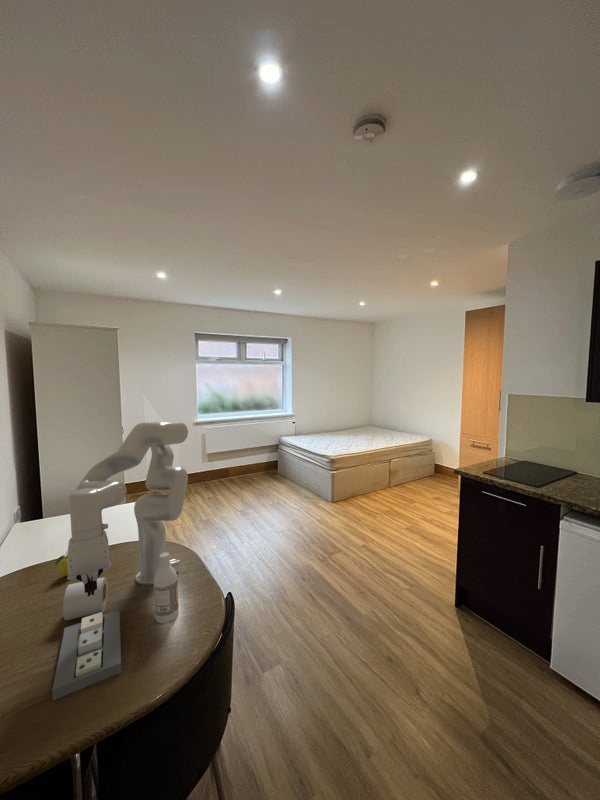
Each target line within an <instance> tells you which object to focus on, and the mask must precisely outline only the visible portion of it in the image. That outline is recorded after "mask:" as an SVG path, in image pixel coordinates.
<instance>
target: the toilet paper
mask: <svg viewBox="0 0 600 800" xmlns="http://www.w3.org/2000/svg"><path fill="white" fill-rule="evenodd" d="M108 592H109V591H108V580H107V577H106V576H104V577H98V578H97V590H95V592H94V595H90V596H88V593H85V588H84V584H83V582H81V581H79V582H75V583H70V584H68V585H67V587H66V589H65V593H64V597H63V604H62V605H63V606H62V614H63V619H64V620H65V621H66V622H67V621H70V620H74V619H79V618H84V617H88V616H91V615H94V614H97V613H100V612H105V611H106V607H107V601H108Z"/></svg>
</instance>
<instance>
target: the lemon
mask: <svg viewBox="0 0 600 800" xmlns="http://www.w3.org/2000/svg"><path fill="white" fill-rule="evenodd" d="M66 555H68V552H66V553H65V554H63V555H61V556H59V557H58V558H57V560H56V561H55V566H57V565H58V564H59V566H58V571H59V572H58V573H59V575H60V576H62V577H68V556H66ZM65 556H66V557H65Z"/></svg>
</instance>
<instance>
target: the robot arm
mask: <svg viewBox="0 0 600 800" xmlns="http://www.w3.org/2000/svg"><path fill="white" fill-rule="evenodd" d="M188 435H189V429H188V426H187V425H186V424H185V422H181V421H176V422H175V421H173V422H172V421H171V422H166V421H163V422H162V421H159V422H157V421H156V422H140V423H137V424H136V425H135V426H134V427H133V428H132V429H131V431H130V432H129V433H128V435H127V436H126V437H125V439H124V441H123V442H122V443H121V445H120V446H119V448H118V449H117V451H115V452H114V453H112V454H110V455H108V456H107V457H105V458H104V459H102V460H100V461H99V462H98V463H96V464H95V465H94V466H92V467H91V468H90V469H89V470H88V471H87V472H86V474H85V475H84V477H82V480H80V481H79V484H78V486H77V487H76V490H75V491H73V492H71V493H70V495H69V498H68V500H69V501H68V502H69V516H70V517H69V518H70V532H71V537H70V538H69V540H68V546H67V557H68V576H66V577H67V578H66V579H67V580H68V581H69V580H70V581H72V580H77V581H79V582H83V584H84V588H85V593H88V596H90V595H94V592H95V590H97V579H98V578H100V577H101V575H102V574H103V573H104V572H106V571H108V570H110V569H111V568H112V563H111V561H110V546H109V545H110V544H109V539H108V535H107V532H106V529H109V524H108V523H104V522H103V515H102V514H103V513H102V511H103V510H105V509H108V508H112V507H115V506H117V505H119V504H120V503H122V502H123V501H124V500H125V498H126V496H127V492H128V489H127V487H126V485H125V484H124V483H122V482H120V481H116V480H112V481H111V480H108V479H110V478H111V477H113V476H114V475H116V474H119V473H121V472H124V471H129V470H130V469H133V468H135V467H138V466H139V465H140V463H142V461H143V459H144V457H146V456H145V455H146V454H147V452H148V450H149V449H150V451H151V456H150V457H151V458H150V462H149V467H148V469H147V474H146V479H145V487H146V488H147V490H149V491H153V492H154V491H155V492H168V494H162V493H161V494H158V493H157V494H156V493H150V494H149V493H148V494H143V495H142V496H139V497H138V498H137V499H136V501H135V503H134V507H133V511H134V518H135V519H136V520H135V521H136V524H137V535H138V554H139V572H137V573H136V575H135V582H136V583H138V584H139V585H143V586H147V585H154V577H155V574H156V572H157V571H158V569H159V567H160V558H159V556H160V554H162V553H165V552H167V538H166V537H167V535H166V534H167V533H166V531H167V530H166V526H165V524H164V522H173V521H176V520H178V519H179V518H180V516H181V514H182V512H183V509H184V508H183V507H184V503H185V498H186V493H187V488H188V481H189V477H188V473H187V470H186V469H185V468H184V467H180V466H173V464H174V458H175V456H174V455H175V454H174V451H173V450H172V447H171V446H170V445H176V444H181V443H184V442H185V441H186V440H187V439H188ZM170 565H171V566H172V567H173V568H174V567H178V566H180V565H181V562H180V559H178V560H176V558H173V559H170ZM91 572H92V575H91V577H90V576H89V575H88V573H91Z"/></svg>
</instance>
